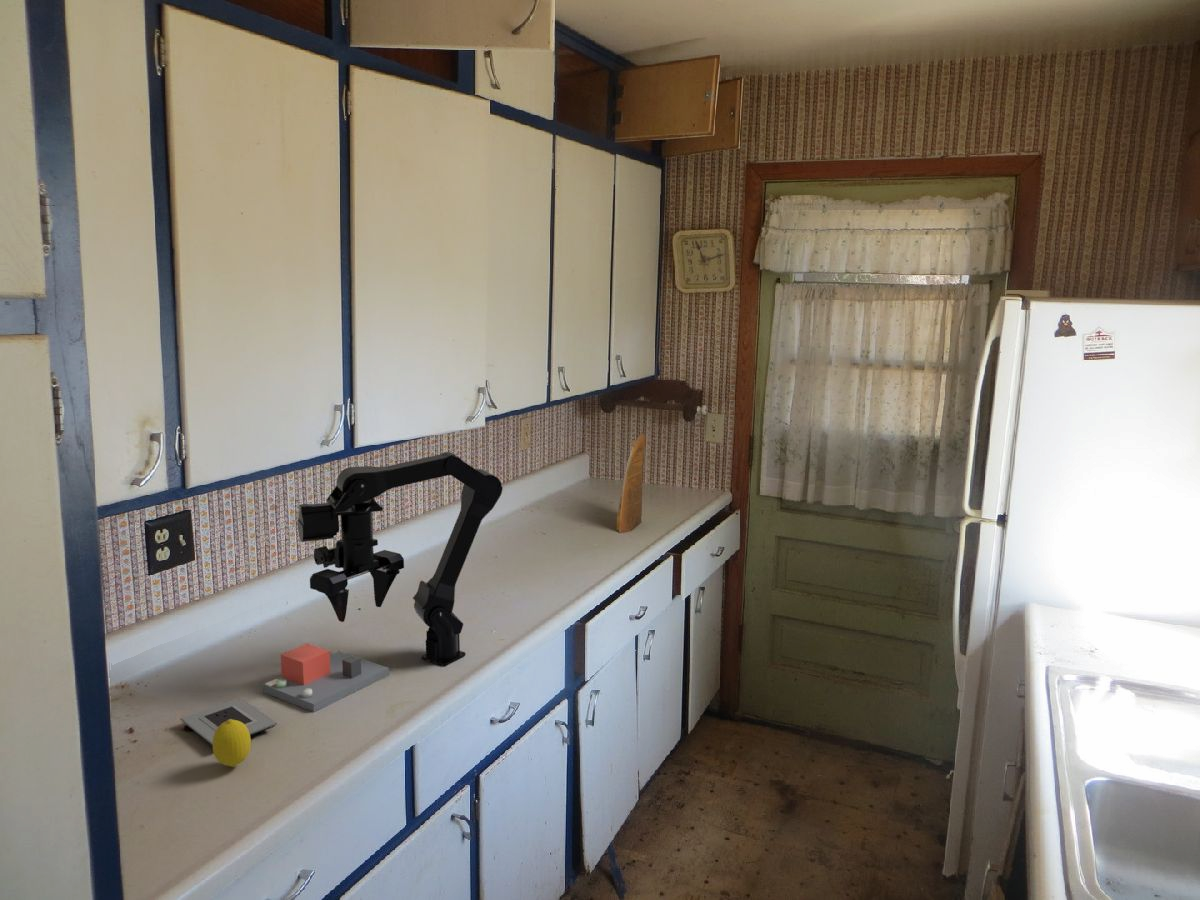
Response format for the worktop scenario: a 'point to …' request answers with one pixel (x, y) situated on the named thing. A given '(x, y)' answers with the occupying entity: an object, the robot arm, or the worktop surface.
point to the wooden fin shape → (632, 489)
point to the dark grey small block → (351, 666)
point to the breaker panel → (326, 684)
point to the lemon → (231, 743)
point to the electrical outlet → (234, 710)
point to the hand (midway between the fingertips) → (360, 613)
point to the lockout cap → (305, 664)
